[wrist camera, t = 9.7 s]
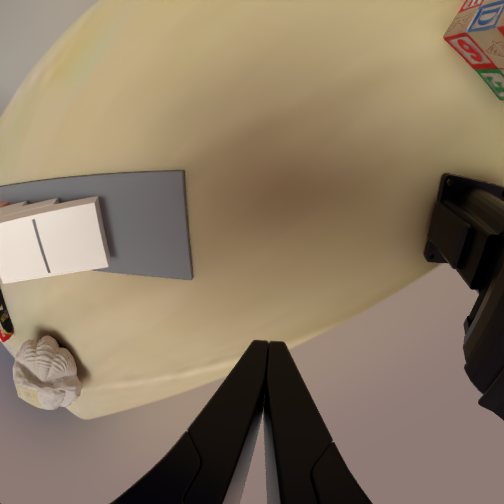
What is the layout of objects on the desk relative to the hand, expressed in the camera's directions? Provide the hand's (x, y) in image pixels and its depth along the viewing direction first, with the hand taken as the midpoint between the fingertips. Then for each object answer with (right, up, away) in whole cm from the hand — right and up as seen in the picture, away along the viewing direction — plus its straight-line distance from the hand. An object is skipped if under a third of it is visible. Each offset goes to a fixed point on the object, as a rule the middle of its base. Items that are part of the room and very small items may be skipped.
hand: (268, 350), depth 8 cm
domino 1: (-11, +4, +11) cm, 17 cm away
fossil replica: (-26, -11, +23) cm, 36 cm away
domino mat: (-16, +5, +13) cm, 21 cm away
